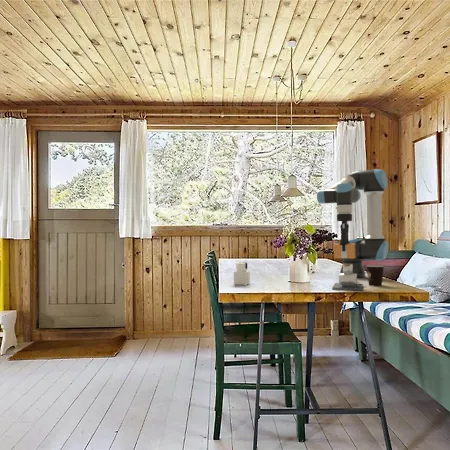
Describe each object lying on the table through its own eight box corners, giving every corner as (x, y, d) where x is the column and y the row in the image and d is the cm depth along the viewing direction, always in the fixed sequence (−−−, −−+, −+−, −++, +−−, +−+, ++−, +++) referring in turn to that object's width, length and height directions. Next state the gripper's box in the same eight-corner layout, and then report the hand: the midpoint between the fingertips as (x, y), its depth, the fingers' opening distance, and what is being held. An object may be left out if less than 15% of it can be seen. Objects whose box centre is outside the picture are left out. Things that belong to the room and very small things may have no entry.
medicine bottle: (237, 283, 244) (237, 261, 244) (250, 283, 242) (249, 261, 242) (233, 284, 237) (233, 262, 237) (246, 285, 235) (246, 263, 235)
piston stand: (335, 284, 233) (335, 262, 233) (362, 285, 229) (362, 262, 229) (332, 289, 216) (332, 265, 216) (361, 290, 212) (361, 266, 212)
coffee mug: (385, 286, 226) (384, 267, 226) (367, 286, 228) (367, 266, 228) (381, 283, 237) (381, 265, 237) (365, 283, 239) (365, 264, 239)
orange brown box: (335, 256, 229) (335, 243, 229) (355, 257, 226) (355, 243, 226) (333, 258, 220) (333, 244, 220) (354, 258, 216) (354, 244, 216)
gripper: (338, 214, 235) (339, 255, 235) (334, 213, 213) (335, 258, 213) (353, 213, 232) (353, 255, 232) (350, 212, 211) (351, 259, 211)
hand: (344, 257), depth 223 cm, fingers closed on orange brown box, 10 cm apart
